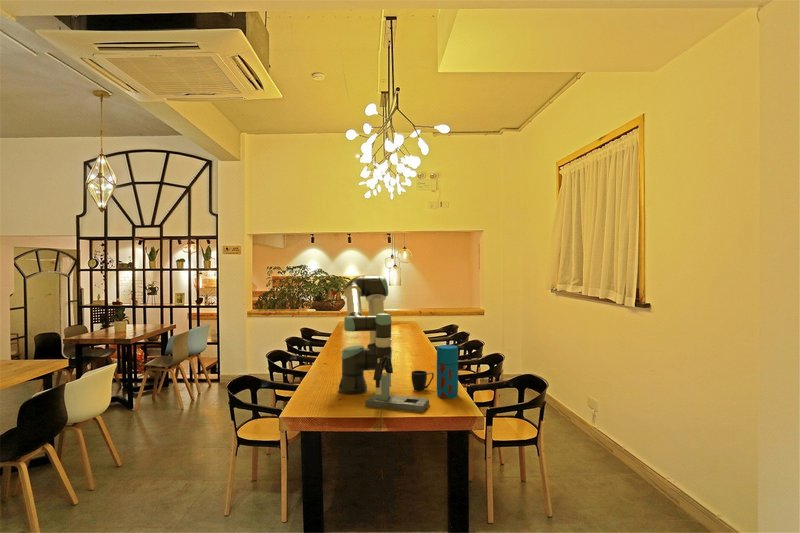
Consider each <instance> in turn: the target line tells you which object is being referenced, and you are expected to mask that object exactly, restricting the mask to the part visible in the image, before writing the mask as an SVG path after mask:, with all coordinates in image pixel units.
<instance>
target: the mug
mask: <svg viewBox="0 0 800 533" xmlns="http://www.w3.org/2000/svg"><path fill="white" fill-rule="evenodd" d="M434 374H435V373H433V372H427V371H425V370H413V371H411V384H412V388H413V391H415V392H424V391H425V390H426V389H428V387H429V386H430V384H431V383H432V381H433V380H434ZM427 375H431V378H430V381H429V382H428V383H427V381H428V376H427Z"/></svg>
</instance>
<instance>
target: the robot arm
mask: <svg viewBox="0 0 800 533" xmlns="http://www.w3.org/2000/svg"><path fill="white" fill-rule="evenodd" d="M343 292H344V293H343V294H344V297H345V298H346V308H347V309H346V312H347V316H344V320H343V321H344V322H343V324H344V325H343V327H344V331H345V332H353V333H354V332H369V343H368V344H367V348H365V347H364V345H352V346H348V347H345V348H344V349H342V351H341V378H340V381H339V384H338V392H339V393H340V394H344V395H358V394H363V393H365V392H367V391H368V384H367V382H366V379H365V371H374V372H373V373H374V374H373V378H372V379H373V381H375V386H374V388H375V394H382V380H381V376H382V373H384V371H385V373H387V374H389V381H390V388H391V387H392V374H393V373H394V371H393V370H394V369H393V363H392V355H393V354H392V353H393V352H392V351H393V349H392V346H391V345H392V341H393V339H392V322H393V320H392V315H391V314H390V313H385V305H384V301H385V300H386V299H387V297H388V296H389V286H388V281H387V278H386V277H385V276H379V275H376V276H366V275H365V276H356V277H354V278H351V279H350V280H349V281H348V282H347V284H346V285H345V286H344V290H343ZM361 297H363V298H364V297H365V301H366V302H368V315H363V309H362V308H363V307H362V300H361Z"/></svg>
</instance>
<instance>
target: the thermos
mask: <svg viewBox="0 0 800 533" xmlns="http://www.w3.org/2000/svg"><path fill="white" fill-rule="evenodd" d="M436 395H437V397H439V398H441V399H445V400H447V399H450V400H451V399H455V398H458V395H459V347H458V346H457V345H453V344H452V345H450V344H446V345H445V344H441V345H437V347H436Z"/></svg>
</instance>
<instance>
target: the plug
mask: <svg viewBox="0 0 800 533" xmlns="http://www.w3.org/2000/svg"><path fill="white" fill-rule="evenodd" d="M381 380H382V394H377V400H389V399H390V395H391V393H390V388H391V387H390V381H389V374H387V373H386V372H382V376H381Z"/></svg>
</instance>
